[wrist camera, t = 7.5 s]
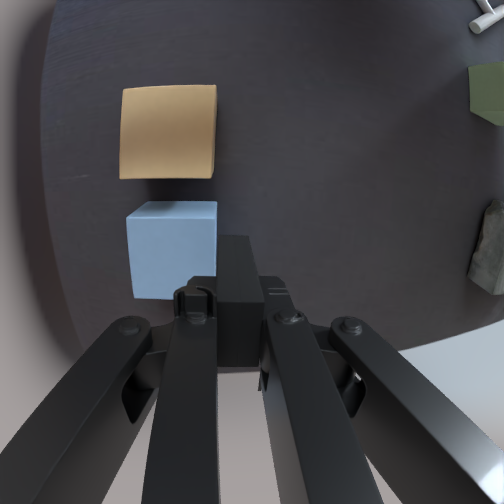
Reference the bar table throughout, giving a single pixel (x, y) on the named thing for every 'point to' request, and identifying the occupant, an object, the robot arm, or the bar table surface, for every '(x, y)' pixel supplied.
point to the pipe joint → (486, 16)
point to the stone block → (490, 251)
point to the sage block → (487, 91)
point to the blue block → (170, 245)
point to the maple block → (168, 132)
